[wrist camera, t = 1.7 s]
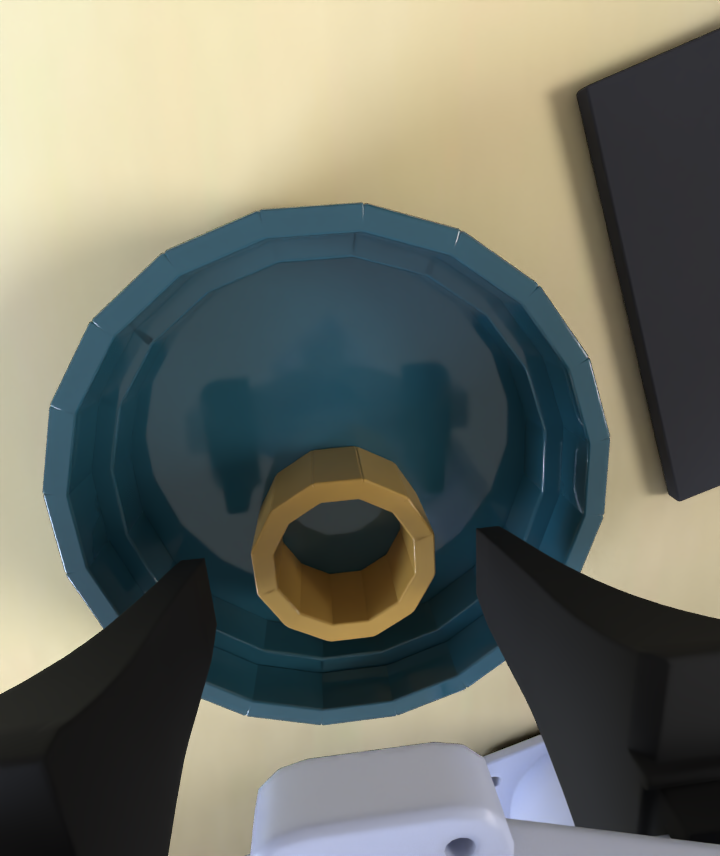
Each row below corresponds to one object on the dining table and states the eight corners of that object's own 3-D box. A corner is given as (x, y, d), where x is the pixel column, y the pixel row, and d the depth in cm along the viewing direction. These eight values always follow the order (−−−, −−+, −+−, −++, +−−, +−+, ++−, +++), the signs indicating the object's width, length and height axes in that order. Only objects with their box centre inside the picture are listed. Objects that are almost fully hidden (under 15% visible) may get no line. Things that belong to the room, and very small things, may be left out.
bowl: (596, 551, 19) (657, 614, 15) (230, 697, 19) (214, 787, 16) (473, 132, 14) (521, 94, 11) (2, 336, 15) (-87, 359, 12)
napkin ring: (445, 534, 17) (468, 579, 15) (322, 613, 18) (323, 669, 15) (361, 416, 16) (370, 444, 13) (228, 505, 16) (214, 549, 14)
